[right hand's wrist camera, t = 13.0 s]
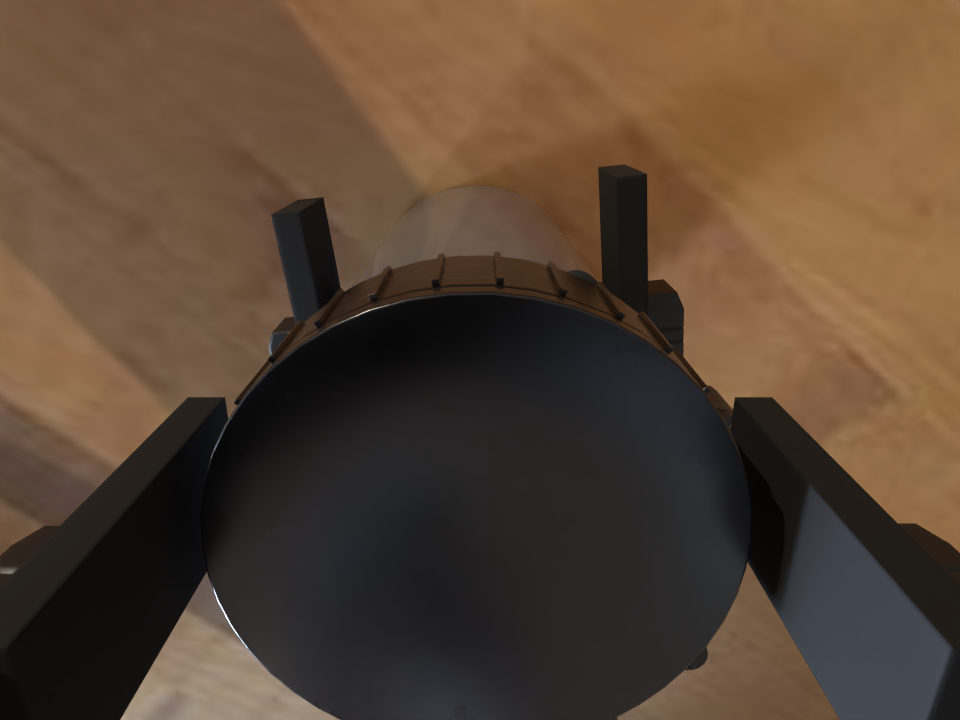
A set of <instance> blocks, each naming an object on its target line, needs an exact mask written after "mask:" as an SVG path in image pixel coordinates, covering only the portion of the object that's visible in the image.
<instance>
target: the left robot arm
mask: <svg viewBox="0 0 960 720" xmlns="http://www.w3.org/2000/svg"><path fill="white" fill-rule="evenodd" d="M598 169H599V197H600V225H601V253H602V281H603V284H604V285H605V286H606V288H607V289H608V290H609V292H610V293H611V294H613V295H615V296H616V297H617V298H619V299H620V300H621V301H623V302H624V303H625V304H627V305H628V306H629V307H631V308H632V309H633V310H634V311H636V312H637V313H638V314H639V313H640V312H641V311H643V312H644V313H645V314H646V315H647V316H648V317H649V319H650V320H651V321H652V322H653V324H654V325H655V326H656V327H657V329H658V330H659V331H660V332H661V334H662V335H663V336H664V337H665V339H666V340H667V341H668V342H669V344H670V345H671V346H672V348H675V347H676V348H677V350H678V351H679V352H680V353H681V355H682V356H683V326H684V308H683V306H682V303H681V301H680V299H679V296H678V294H677V292H676V291H675V290H674V289H673V288H672V287H671V286H670V285H669V284H668V283H667V282H666V281H665V280H653V281H648V252H647V174H646V173H643V172H641V171H638V170H636V169H634V168H631V167H629V166H627V165H615V166H606V167H598ZM271 216H272V220H273V225H274V229H275V234H276V238H277V243H278V247H279V252H280V256H281V261H282V265H283V270H284V274H285V279H286V283H287V288H288V292H289V297H290V301H291V306H292V310H293V315H294V317H289V318H285V319H284V320H283V321H282V322H281V323H280V324H279V325H278V327H277V328H276V329H275V330H274V331H273V332H272V334H271V340H270V346H269V353H270V356H271V355H272V353H273V352H274V351H275V350H276V349H277V347H278V346H279V345H280V344H281V342H282V341H283V340H284V339H285V338H286V336H287V335H288V334H289V333H290V331H291V330H292V329H293V328H294V327H295V325H296V324H297V323H298V322H299V321H300V320H302V321H303V322H304V323H305V322H306V321H307V319H309V318H310V317H311V316H312V315H314V314H315V313H316V312H317V311H318V310H320V309H321V308H322V307H323V306H325V305H326V304H327V303H328V302H329V301H330V300H331V298H332V297H333V296H334V294H335V293H336V292H337V291H338V290H339V289H341V288H340V282H339V277H338V272H337V267H336V261H335V256H334V251H333V246H332V241H331V235H330V230H329V225H328V220H327V214H326V209H325V204H324V199H323V197H322V198H313V199H304V200H298V201H296V202H294V203H292V204H290V205H288V206H287V207H285V208H283V209H281V210H279V211H277V212H275V213H274V214H272V215H271ZM707 387H708V388H709V390H710V392H709V393H707V396H708V397H709V399H710V400H711V401H712V403H713V404H714V405H715V407H716V408H717V410H718V411H719V412H720V414H721V415H722V417H723V419H724V421H725V423H726V425H727V426H728V428H729V429H730V427H731V420H732V414H733V410H732V408H731V407H730V406H729V405H728V404H727V402H726V401H725V400H724V399H723V398H722V396H721V395H720V394H719V393H718V392H717V391H716V390H715V389H714V388H713V387H711V386H707ZM707 655H708V653H707V648H706V647H705V648H704V650H703V651H702V652H701V653H700V654H699V655H698V656H697V657H696V658H695V660H694V661H693V662H692V663H691V664H690V665H689V666H688V667H687V668H686V669H685V670H694V669H696V668H699V667H700V666H702V665H703V664H704V663H705V662H706V660H707ZM612 720H617V717H616V718H614V719H612Z"/></svg>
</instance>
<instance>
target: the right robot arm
mask: <svg viewBox="0 0 960 720" xmlns="http://www.w3.org/2000/svg"><path fill="white" fill-rule="evenodd" d="M227 420H228V414H227V408H226V402H225V397H188V398H187V399H186V400H185V401H184V402H183V403H182V404H181V405H180V406H179V407H178V408H177V409H176V410H175V411H174V412H173V413H172V414H171V415H170V416H169V417H168V418H167V419H166V420H165V421H164V422H163V423H162V424H161V425H160V426H159V427H158V428H157V429H156V430H155V431H154V432H153V433H152V434H151V435H150V436H149V437H148V438H147V439H146V440H145V441H144V442H143V443H142V444H141V445H140V446H139V447H138V448H137V449H136V450H135V451H134V452H133V453H132V454H131V455H130V456H129V457H128V458H127V459H126V460H125V461H124V462H123V463H122V464H121V465H120V466H119V467H118V468H117V469H116V470H115V471H114V472H113V473H112V474H111V475H110V476H109V477H108V478H107V479H106V480H105V481H104V482H103V483H102V484H101V485H100V486H99V487H98V488H97V489H96V490H95V491H94V492H93V493H92V494H91V495H90V496H89V497H88V498H87V499H86V500H85V501H84V502H83V503H82V504H81V505H80V506H79V507H78V508H77V509H76V510H75V511H74V512H73V513H72V514H71V515H70V516H69V517H68V518H67V519H66V520H65V521H64V522H63V523H62V524H61V525H60V526H44V527H42V528H40V529H39V530H37V531H35V532H34V533H32V534H30V535H29V536H27V537H25V538H24V539H22V540H20V541H18V542H17V543H15V544H13V545H12V546H10V547H9V548H8V549H7V550H6V551H5V552H4V553H3V554H2V555H1V556H0V720H120V719H121V717H122V716H123V714H124V712H125V710H126V709H127V707H128V705H129V704H130V702H131V700H132V698H133V697H134V695H135V693H136V692H137V690H138V688H139V686H140V685H141V683H142V681H143V680H144V678H145V676H146V674H147V673H148V671H149V669H150V668H151V666H152V664H153V662H154V661H155V659H156V657H157V656H158V654H159V652H160V651H161V649H162V647H163V645H164V644H165V642H166V640H167V639H168V637H169V635H170V633H171V632H172V630H173V628H174V627H175V625H176V623H177V621H178V620H179V618H180V616H181V615H182V613H183V611H184V609H185V608H186V606H187V604H188V603H189V601H190V599H191V597H192V596H193V594H194V592H195V591H196V589H197V587H198V586H199V584H200V582H201V580H202V579H203V577H204V575H205V574H206V572H207V569H206V564H205V559H204V555H203V550H202V544H201V524H200V510H201V501H202V492H203V483H204V480H205V476H206V472H207V469H208V465H209V462H210V458H211V455H212V452H213V450H214V447H215V445H216V443H217V441H218V439H219V437H220V434H221V432H222V430H223V428H224V426H225V424H226V422H227ZM730 430H731V432H732V433H733V435H734V440H735V442H736V444H737V446H738V450H739V453H740V456H741V459H742V462H743V465H744V468H745V471H746V475H747V479H748V486H749V493H750V499H751V506H752V513H751V542H750V548H749V554H748V559H747V562H748V563H749V565H750V567H751V568H752V570H753V572H754V574H755V575H756V577H757V579H758V580H759V582H760V584H761V586H762V587H763V589H764V591H765V592H766V594H767V596H768V598H769V599H770V601H771V603H772V604H773V606H774V608H775V610H776V611H777V613H778V615H779V616H780V618H781V620H782V621H783V623H784V625H785V627H786V628H787V630H788V632H789V633H790V635H791V637H792V639H793V640H794V642H795V644H796V645H797V647H798V649H799V651H800V652H801V654H802V656H803V657H804V659H805V661H806V663H807V664H808V666H809V668H810V669H811V671H812V673H813V674H814V676H815V678H816V680H817V681H818V683H819V685H820V686H821V688H822V690H823V692H824V693H825V695H826V697H827V698H828V700H829V702H830V704H831V705H832V707H833V709H834V710H835V712H836V714H837V716H838V717H839V719H840V720H960V553H959V552H958V551H957V550H956V549H955V548H954V547H953V546H952V545H950V544H949V543H948V542H946V541H944V540H942V539H941V538H939V537H937V536H936V535H934V534H932V533H931V532H929V531H927V530H925V529H924V528H922V527H920V526H919V525H917V524H898V523H897V522H896V521H895V520H894V519H893V518H892V517H891V516H890V515H889V514H888V513H887V512H886V511H885V510H884V509H883V508H882V507H881V506H880V505H879V504H878V503H877V502H876V501H875V500H874V499H873V498H872V497H871V496H870V495H869V494H868V493H867V492H866V491H865V490H864V489H863V488H862V487H861V486H860V485H859V484H858V483H857V482H856V481H855V480H854V479H853V478H852V477H851V476H850V475H849V474H848V473H847V472H846V471H845V470H844V469H843V468H842V467H841V466H840V465H839V464H838V463H837V462H836V461H835V460H834V459H833V458H832V457H831V456H830V455H829V454H828V453H827V452H826V451H825V450H824V449H823V448H822V447H821V446H820V445H819V444H818V443H817V442H816V441H815V440H814V439H813V438H812V437H811V436H810V435H809V434H808V433H807V432H806V431H805V430H804V429H803V428H802V427H801V426H800V425H799V424H798V423H797V422H796V421H795V420H794V419H793V418H792V417H791V416H790V415H789V414H788V413H787V412H786V411H785V410H784V409H783V408H782V407H781V406H780V405H779V404H778V403H777V402H776V401H775V400H774V399H773V398H772V397H735V402H734V408H733V414H732V420H731V427H730Z"/></svg>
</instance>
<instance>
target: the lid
mask: <svg viewBox="0 0 960 720" xmlns="http://www.w3.org/2000/svg"><path fill="white" fill-rule="evenodd" d="M709 392H710V390H709V388H708V387H707V385H706V384H705V383H704V382H703V381H702V379H701V378H700V377H699V376H698V374H697V373H696V372H695V371H694V369H693V368H692V367H691V366H690V364H689V363H688V362H687V361H686V360H685V358H684V357H683V356H682V355H681V353H680V352H679V351H678V350H677V348H676V347H675V348H672V346H671V345H670V344H669V342H668V341H667V340H666V339H665V337H664V336H663V335H662V334H661V332H660V331H659V330H658V329H657V327H656V326H655V325H654V324H653V322H652V321H651V320H650V319H649V317H648V316H647V315H646V314H645V313H644V312H643V311H641V312H640V313H639V314H638V313H637V312H636V311H634V310H633V309H632V308H631V307H629V306H628V305H627V304H625V303H624V302H623V301H621V300H620V299H619V298H617V297H616V296H615V295H613V294H611V293H610V292H609V290H608V289H607V288H606V286H605V285H604V284H603V283H601V282H599V283H598V284H597V285H595V284H594V283H592V282H590V281H588V280H586V279H584V278H581V277H579V276H576V275H574V274H571V273H569V272H566V271H564V270H561V269H559V268H557V267H556V265H555V263H553V262H550V261H549V262H548V265H544V264H540V263H536V262H532V261H528V260H524V259H516V258H508V257H501V254H500V252H494V256H491V255H484V256H451V257H445V254H444V253H442V254H438V257H437V259H431V260H424V261H419V262H416V263H412V264H409V265H405V266H402V267H398V268H394V269H392V268H391V266H387V267H385V268H384V270H383V272H382V273H381V274H379V275H377V276H374V277H372V278H370V279H367V280H365V281H363V282H360V283H358V284H357V285H355V286H353V287H352V288H350V289H348V290H347V291H345V292H344V291H343V289H342V288H341V289H339V290H338V291H337V292H336V293H335V294H334V296H333V297H332V298H331V300H330V301H329V302H328V303H327V304H326V305H325V306H323V307H322V308H321V309H320V310H318V311H317V312H316V313H315V314H314V315H312V316H311V317H310V318H309V319H307V321H306V322H305V323H304V322H303V321H302V320H300V321H299V322H298V323H297V324H296V325H295V327H294V328H293V329H292V330H291V331H290V333H289V334H288V335H287V336H286V338H285V339H284V340H283V341H282V342H281V344H280V345H279V346H278V347H277V349H276V350H275V351H274V352H273V353H272V355H271V356H270V357H269V358H268V361H267V362H266V363H265V364H264V366H263V367H262V368H261V369H260V371H259V372H258V373H257V374H256V376H255V377H254V378H253V379H252V380H251V382H250V383H249V384H248V385H247V387H246V388H245V389H244V390H243V391H242V393H241V394H240V395H239V396H238V398H237V399H236V401H235V402H234V404H236V405H238V406H237V407H236V409H235V410H234V412H233V413H232V415H231V416H230V417H229V419H228V420H227V422H226V424H225V426H224V428H223V430H222V432H221V434H220V437H219V439H218V441H217V443H216V445H215V447H214V450H213V452H212V455H211V458H210V462H209V465H208V469H207V472H206V476H205V480H204V483H203V492H202V501H201V510H200V524H201V544H202V550H203V555H204V559H205V564H206V569H207V574H208V577H209V579H210V582H211V585H212V587H213V590H214V593H215V595H216V598H217V601H218V603H219V605H220V607H221V608H222V610H223V612H224V614H225V616H226V618H227V619H228V621H229V623H230V625H231V627H232V628H233V630H234V631H235V632H236V634H237V635H238V636H239V638H240V639H241V641H242V642H243V643H244V645H245V646H246V647H247V649H248V650H249V651H250V652H251V654H252V655H253V656H254V657H255V658H256V659H257V660H258V661H259V662H260V663H261V664H262V665H263V666H264V667H265V668H266V669H267V670H268V671H269V672H270V673H271V674H272V675H273V676H274V677H276V678H277V679H278V680H279V681H280V682H282V683H283V684H284V685H285V686H287V687H288V688H289V689H290V690H291V691H293V692H294V693H296V694H297V695H299V696H300V697H302V698H303V699H305V700H306V701H308V702H309V703H311V704H312V705H314V706H316V707H317V708H319V709H321V710H323V711H325V712H327V713H329V714H331V715H332V716H334V717H336V718H338V719H340V720H612V719H614V718H616V717H618V716H619V715H621V714H623V713H625V712H627V711H629V710H631V709H632V708H634V707H636V706H638V705H640V704H641V703H643V702H644V701H646V700H647V699H649V698H650V697H651V696H653V695H654V694H656V693H657V692H659V691H660V690H662V689H663V688H664V687H666V686H667V685H668V684H669V683H670V682H671V681H673V680H674V679H675V678H676V677H677V676H678V675H679V674H681V673H682V672H683V671H684V670H685V669H686V668H687V667H688V666H689V665H690V664H691V663H692V662H693V661H694V660H695V658H696V657H697V656H698V655H699V654H700V653H701V652H702V651H703V650H704V648H705V647H706V646H707V645H708V643H709V642H710V641H711V639H712V638H713V636H714V635H715V633H716V632H717V630H718V629H719V627H720V626H721V625H722V623H723V622H724V620H725V618H726V616H727V614H728V612H729V610H730V608H731V606H732V604H733V602H734V600H735V598H736V596H737V593H738V590H739V587H740V584H741V581H742V578H743V575H744V572H745V569H746V565H747V559H748V554H749V548H750V542H751V513H752V506H751V499H750V493H749V486H748V479H747V475H746V471H745V468H744V465H743V462H742V459H741V456H740V453H739V450H738V446H737V444H736V442H735V440H734V435H733V433H732V432H731V430H730V429H729V428H728V426H727V425H726V423H725V421H724V419H723V417H722V415H721V414H720V412H719V411H718V410H717V408H716V407H715V405H714V404H713V403H712V401H711V400H710V399H709V397H708V396H707V393H709Z"/></svg>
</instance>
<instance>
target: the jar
mask: <svg viewBox="0 0 960 720" xmlns="http://www.w3.org/2000/svg"><path fill="white" fill-rule="evenodd" d="M494 252H500V254H501V257H508V258H516V259H524V260H528V261H532V262H536V263H540V264H544V265H548V262H549V261H550V262H553V263H555V265H556V267H557V268H559V269H561V270H564V271H566V272H569V273H571V274H574V275H576V276H579V277H581V278H584V279H586V280H588V281H590V282H592V283H594V284H595V285H597V284H598V283H599V282H598V280H597V279H596V277H595V276H594V274H593V273H592V271H591V270H590V269H589V267H588V266H587V264H586V263H585V261H584V260H583V258H582V257H581V255H580V254H579V252H578V251H577V249H576V248H575V246H574V245H573V243H572V242H571V240H570V239H569V237H568V236H567V235H566V233H565V232H564V230H563V229H562V228H561V226H560V225H559V224H558V222H557V221H556V220H555V219H554V218H553V217H552V216H551V215H550V214H549V213H548V212H547V211H545V210H544V209H543V208H542V207H540V206H539V205H538V204H536V203H535V202H533V201H531V200H530V199H528V198H526V197H524V196H522V195H520V194H517V193H515V192H512V191H509V190H505V189H502V188H498V187H490V186H464V187H457V188H452V189H449V190H445V191H442V192H439V193H437V194H434V195H432V196H430V197H428V198H426V199H424V200H423V201H421V202H419V203H418V204H416V205H415V206H413V207H412V208H411V209H410V210H409V211H407V212H406V213H405V214H404V215H403V216H402V217H401V218H400V219H399V220H398V221H397V222H396V223H395V225H394V226H393V227H392V229H391V230H390V232H389V233H388V235H387V236H386V238H385V239H384V241H383V242H382V243H381V245H380V246H379V248H378V249H377V251H376V252H375V254H374V255H373V257H372V258H371V260H370V261H369V262H368V264H367V265H366V267H365V268H364V270H363V271H362V273H361V274H360V276H359V277H358V279H357V280H356V281H355V283H354V284H353V286H355V285H357V284H358V283H360V282H363V281H365V280H367V279H370V278H372V277H374V276H377V275H379V274H381V273H382V272H383V270H384V268H385V267H387V266H391V268H392V269H394V268H398V267H402V266H405V265H409V264H412V263H416V262H419V261H424V260H431V259H437V257H438V254H442V253H444V254H445V257H451V256H484V255H491V256H494ZM353 286H352V287H353ZM352 287H351V288H352Z"/></svg>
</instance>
